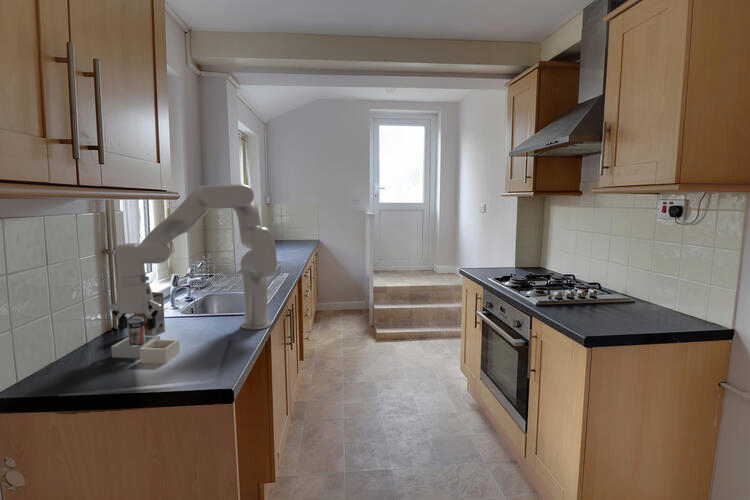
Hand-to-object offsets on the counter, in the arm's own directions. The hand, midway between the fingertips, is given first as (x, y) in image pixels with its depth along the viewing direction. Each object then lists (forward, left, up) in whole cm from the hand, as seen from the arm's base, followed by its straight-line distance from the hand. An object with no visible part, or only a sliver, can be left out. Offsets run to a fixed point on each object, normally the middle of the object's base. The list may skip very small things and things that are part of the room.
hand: (137, 328), depth 133 cm
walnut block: (+5, +11, -8) cm, 14 cm away
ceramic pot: (+5, +11, -9) cm, 15 cm away
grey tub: (0, 0, -9) cm, 9 cm away
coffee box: (-21, -8, -9) cm, 24 cm away
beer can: (0, 0, -8) cm, 8 cm away
